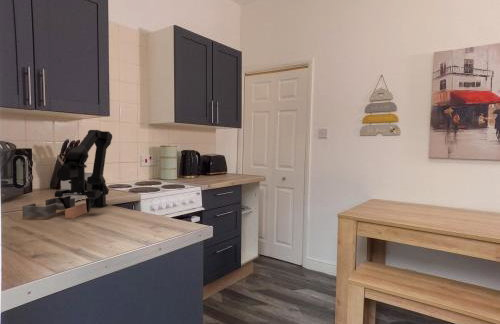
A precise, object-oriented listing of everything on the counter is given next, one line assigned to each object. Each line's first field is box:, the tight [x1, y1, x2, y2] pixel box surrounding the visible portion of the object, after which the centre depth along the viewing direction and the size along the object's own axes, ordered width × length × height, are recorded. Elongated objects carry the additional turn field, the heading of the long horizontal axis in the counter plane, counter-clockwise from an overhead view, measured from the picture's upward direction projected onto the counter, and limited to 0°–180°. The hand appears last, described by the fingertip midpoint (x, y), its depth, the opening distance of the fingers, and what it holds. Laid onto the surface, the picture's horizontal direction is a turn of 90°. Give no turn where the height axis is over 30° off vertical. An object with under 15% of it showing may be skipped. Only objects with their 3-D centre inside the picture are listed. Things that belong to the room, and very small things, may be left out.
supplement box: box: [60, 180, 86, 200], centre depth 172 cm, size 9×9×15 cm
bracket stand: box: [21, 197, 76, 221], centre depth 142 cm, size 10×20×6 cm, turn 178°
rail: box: [64, 202, 92, 219], centre depth 142 cm, size 14×4×4 cm, turn 178°
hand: (78, 212), depth 142 cm, fingers open, 9 cm apart
